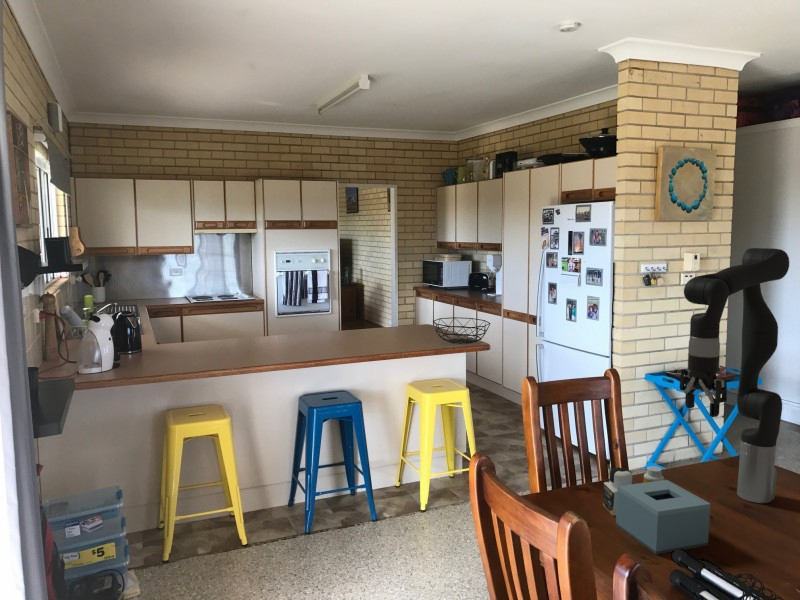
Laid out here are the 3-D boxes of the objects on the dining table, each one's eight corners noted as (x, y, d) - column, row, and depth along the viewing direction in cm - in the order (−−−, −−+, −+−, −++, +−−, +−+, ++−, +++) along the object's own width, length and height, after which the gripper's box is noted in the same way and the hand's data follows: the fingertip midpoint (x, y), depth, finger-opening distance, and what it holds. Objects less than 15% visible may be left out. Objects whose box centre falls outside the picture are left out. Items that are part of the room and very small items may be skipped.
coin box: (664, 518, 176) (666, 479, 175) (707, 545, 161) (710, 503, 160) (615, 525, 172) (617, 486, 170) (655, 554, 156) (658, 511, 155)
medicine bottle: (602, 505, 184) (604, 465, 183) (625, 504, 185) (627, 465, 184) (612, 516, 177) (614, 475, 176) (636, 515, 178) (639, 474, 177)
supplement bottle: (655, 507, 183) (656, 473, 182) (638, 500, 188) (640, 467, 187) (666, 503, 186) (668, 469, 185) (649, 496, 191) (651, 463, 190)
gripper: (736, 357, 161) (733, 418, 164) (695, 346, 175) (693, 403, 177) (712, 359, 159) (710, 421, 161) (673, 349, 173) (671, 406, 175)
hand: (701, 411), depth 169 cm, fingers open, 8 cm apart
